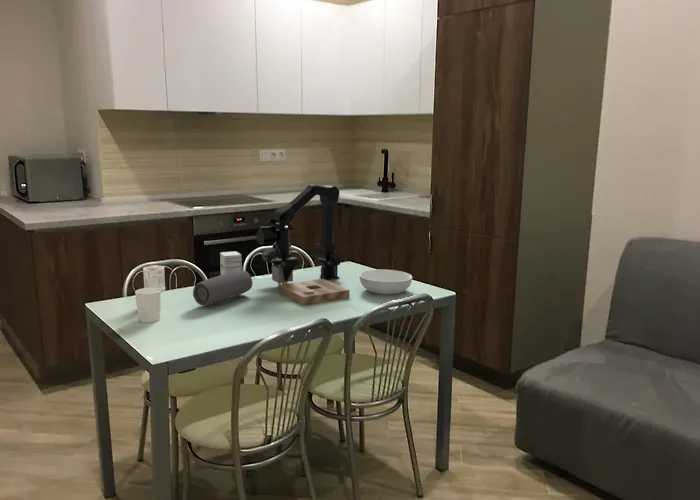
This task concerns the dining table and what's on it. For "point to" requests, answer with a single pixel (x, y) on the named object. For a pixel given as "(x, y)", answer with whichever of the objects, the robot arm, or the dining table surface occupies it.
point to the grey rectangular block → (280, 275)
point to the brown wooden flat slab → (314, 291)
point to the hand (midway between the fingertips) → (282, 279)
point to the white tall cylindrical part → (154, 277)
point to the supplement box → (230, 262)
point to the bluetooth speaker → (222, 288)
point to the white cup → (148, 304)
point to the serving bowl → (385, 281)
